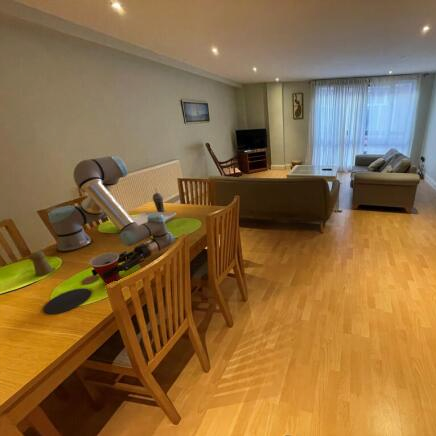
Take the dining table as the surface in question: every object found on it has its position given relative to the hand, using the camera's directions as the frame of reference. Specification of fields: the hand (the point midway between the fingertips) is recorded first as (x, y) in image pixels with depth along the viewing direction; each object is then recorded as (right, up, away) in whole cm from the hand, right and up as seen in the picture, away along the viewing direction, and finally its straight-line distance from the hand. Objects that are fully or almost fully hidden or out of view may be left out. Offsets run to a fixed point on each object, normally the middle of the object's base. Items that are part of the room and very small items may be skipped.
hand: (98, 275), depth 104 cm
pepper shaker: (-38, -2, +14) cm, 41 cm away
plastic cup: (+1, -4, +7) cm, 8 cm away
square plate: (-19, +21, +69) cm, 74 cm away
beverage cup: (-22, +30, +90) cm, 98 cm away
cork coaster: (-10, -4, +8) cm, 14 cm away
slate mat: (-9, -10, -5) cm, 14 cm away
